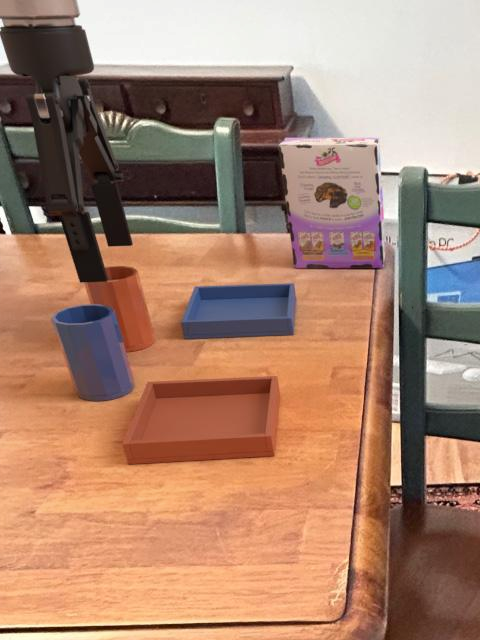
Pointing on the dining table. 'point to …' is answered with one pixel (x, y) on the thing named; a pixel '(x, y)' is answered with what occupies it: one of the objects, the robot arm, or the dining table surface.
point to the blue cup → (94, 351)
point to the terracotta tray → (204, 420)
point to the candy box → (334, 201)
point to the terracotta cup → (125, 305)
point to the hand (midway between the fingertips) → (108, 262)
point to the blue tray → (240, 311)
